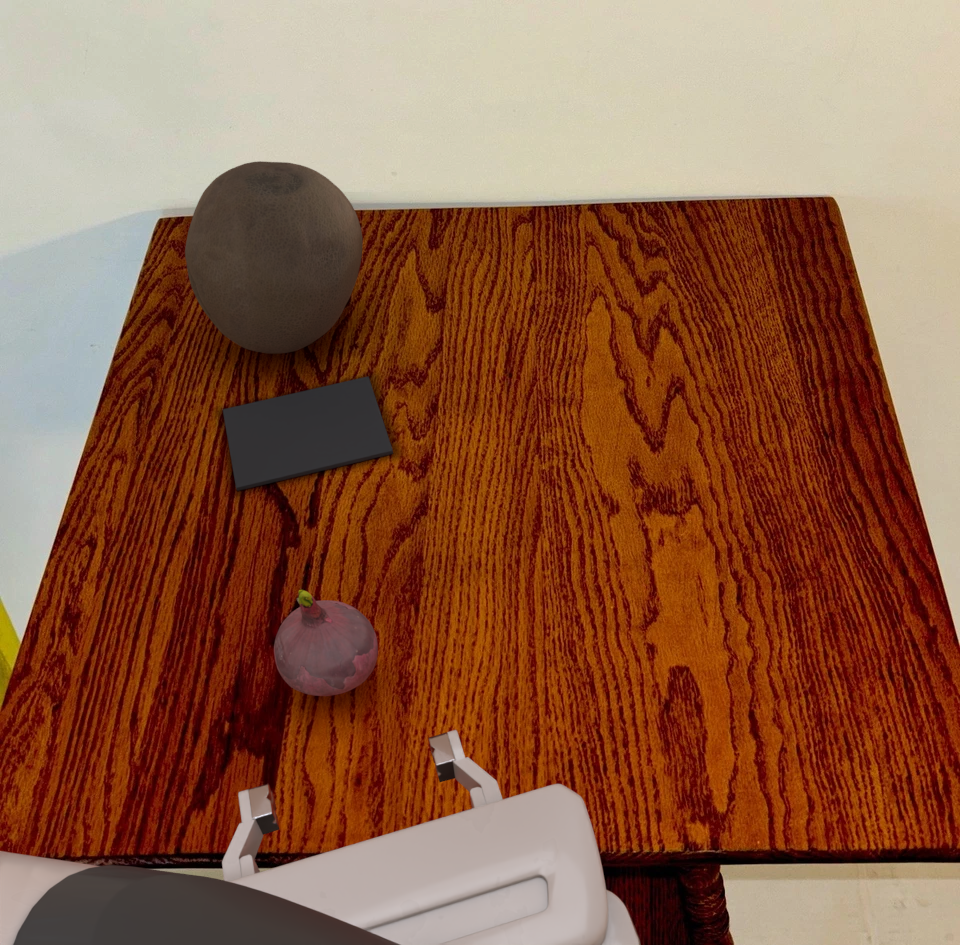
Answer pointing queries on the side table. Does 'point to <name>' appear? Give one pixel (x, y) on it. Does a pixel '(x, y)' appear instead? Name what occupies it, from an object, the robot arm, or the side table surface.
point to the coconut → (273, 255)
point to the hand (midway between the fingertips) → (350, 765)
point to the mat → (305, 433)
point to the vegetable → (325, 647)
